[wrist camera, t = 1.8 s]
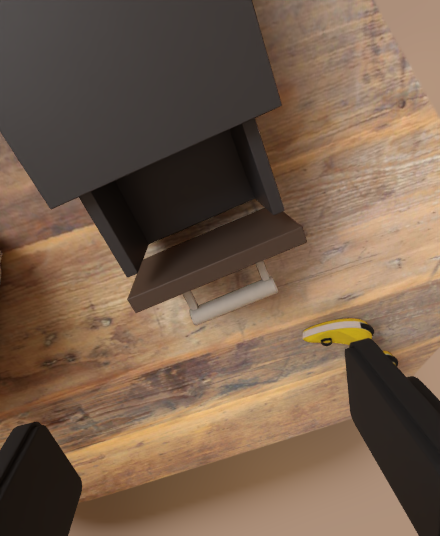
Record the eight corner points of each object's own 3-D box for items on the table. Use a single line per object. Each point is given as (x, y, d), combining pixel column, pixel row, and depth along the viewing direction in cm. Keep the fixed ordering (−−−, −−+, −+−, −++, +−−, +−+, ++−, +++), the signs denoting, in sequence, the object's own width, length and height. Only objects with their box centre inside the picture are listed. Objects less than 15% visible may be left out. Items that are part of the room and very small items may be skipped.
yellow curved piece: (402, 356, 34) (411, 384, 31) (347, 371, 37) (351, 397, 35) (357, 298, 31) (363, 324, 28) (302, 320, 34) (302, 345, 31)
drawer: (291, 257, 28) (323, 294, 22) (169, 308, 29) (163, 358, 23) (213, 24, 21) (224, -29, 14) (52, 100, 22) (-8, 84, 15)
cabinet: (250, 116, 24) (282, 105, 16) (96, 186, 25) (50, 209, 17) (160, -156, 18) (135, -404, 10) (-39, -51, 19) (-214, -197, 11)
